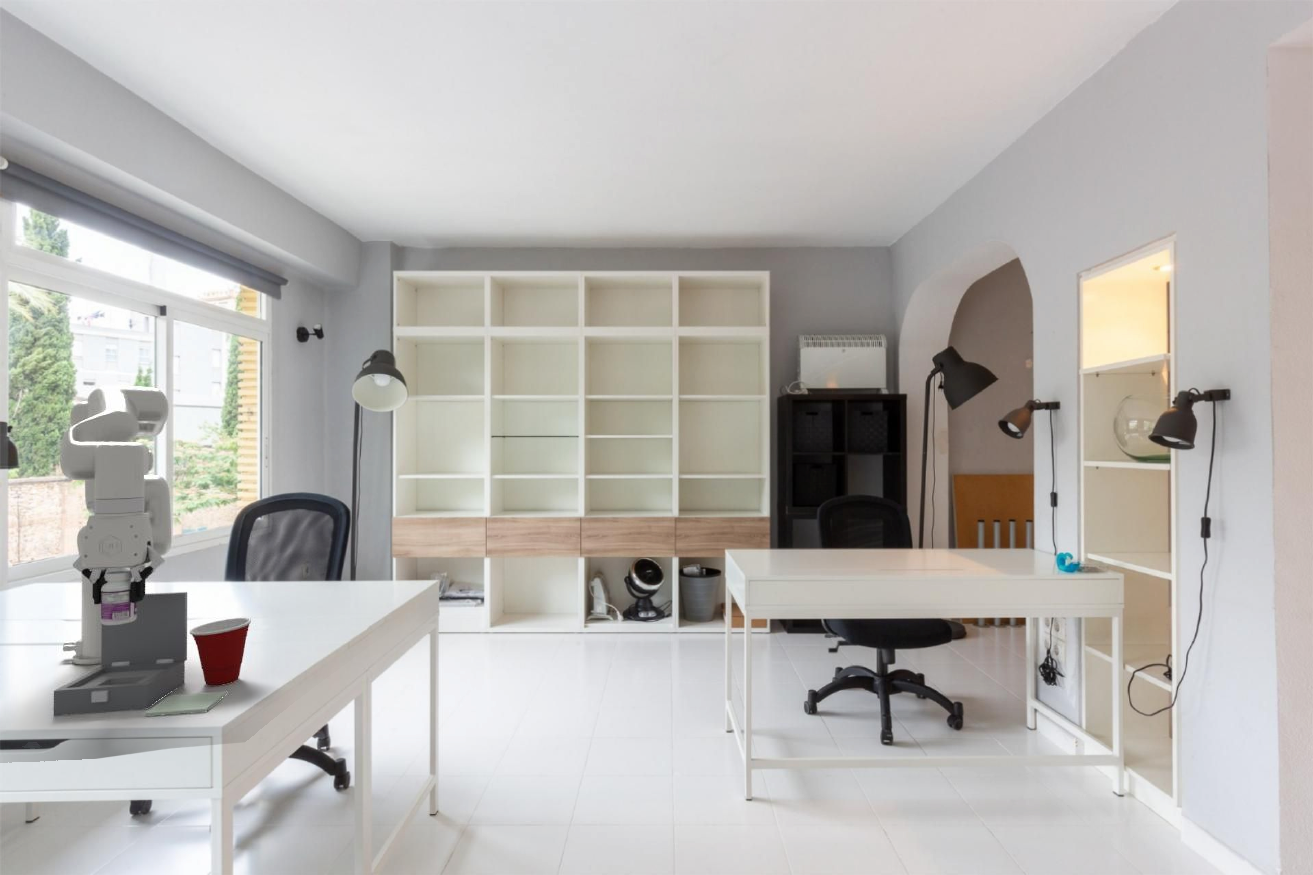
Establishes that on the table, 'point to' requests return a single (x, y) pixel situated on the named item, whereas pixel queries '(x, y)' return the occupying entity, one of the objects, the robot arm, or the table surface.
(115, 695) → the equipment case
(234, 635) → the plastic cup
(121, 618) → the pill bottle
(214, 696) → the sage mat
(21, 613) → the table surface
